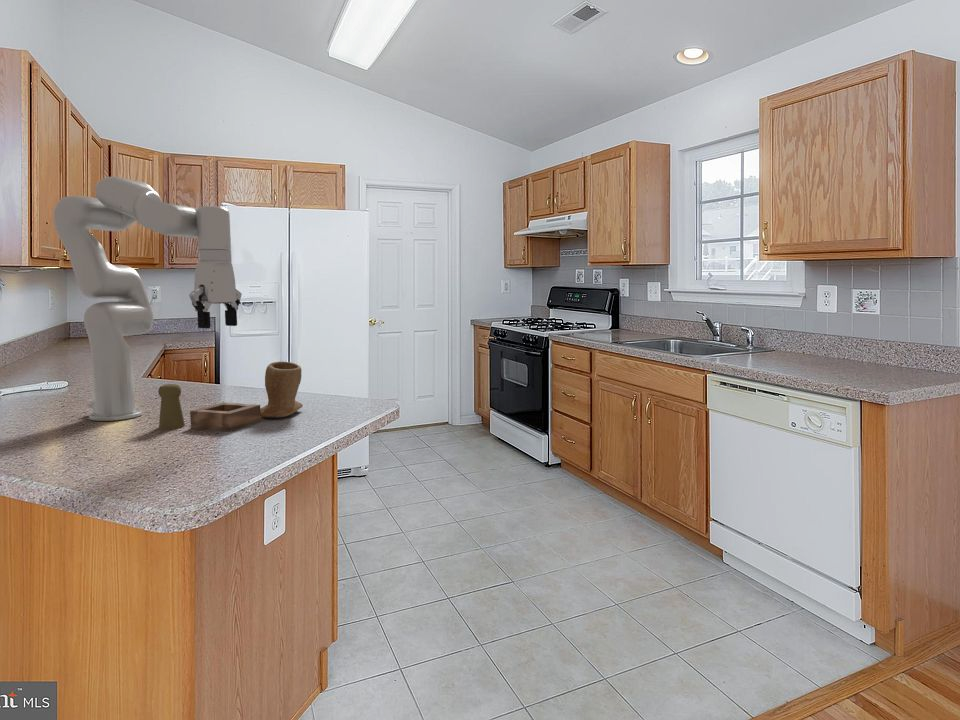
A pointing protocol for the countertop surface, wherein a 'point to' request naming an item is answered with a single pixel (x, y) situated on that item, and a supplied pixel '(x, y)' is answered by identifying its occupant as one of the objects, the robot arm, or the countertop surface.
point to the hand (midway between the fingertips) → (218, 326)
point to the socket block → (225, 416)
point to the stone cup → (281, 389)
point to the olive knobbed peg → (170, 407)
